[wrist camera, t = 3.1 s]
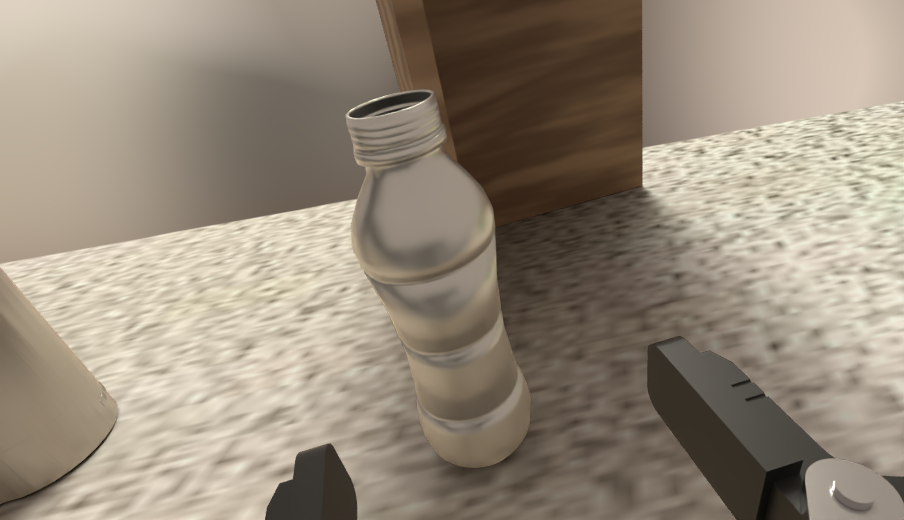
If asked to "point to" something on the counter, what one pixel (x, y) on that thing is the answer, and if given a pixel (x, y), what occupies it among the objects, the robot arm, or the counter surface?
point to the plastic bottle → (437, 278)
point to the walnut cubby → (529, 93)
